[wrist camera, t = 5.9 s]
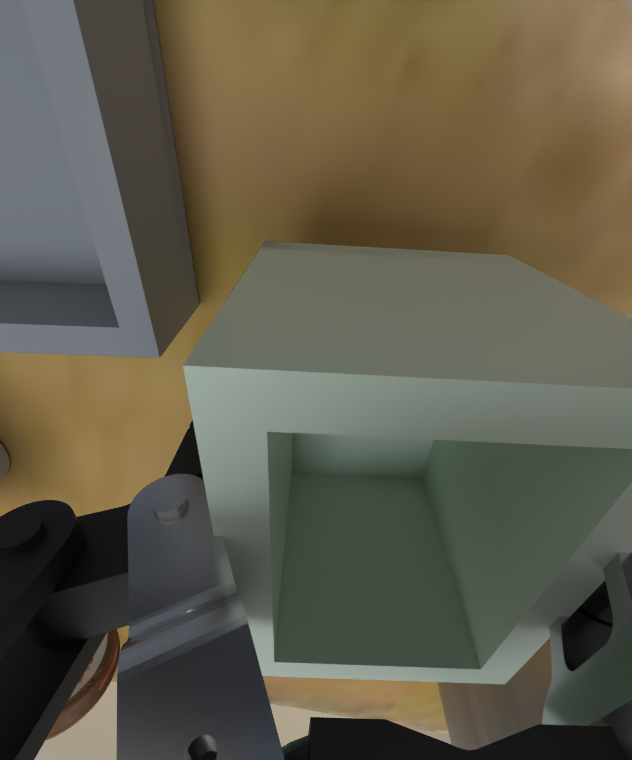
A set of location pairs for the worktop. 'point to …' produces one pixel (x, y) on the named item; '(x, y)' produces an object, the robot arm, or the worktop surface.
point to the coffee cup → (3, 462)
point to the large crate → (89, 183)
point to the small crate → (411, 457)
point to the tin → (90, 684)
